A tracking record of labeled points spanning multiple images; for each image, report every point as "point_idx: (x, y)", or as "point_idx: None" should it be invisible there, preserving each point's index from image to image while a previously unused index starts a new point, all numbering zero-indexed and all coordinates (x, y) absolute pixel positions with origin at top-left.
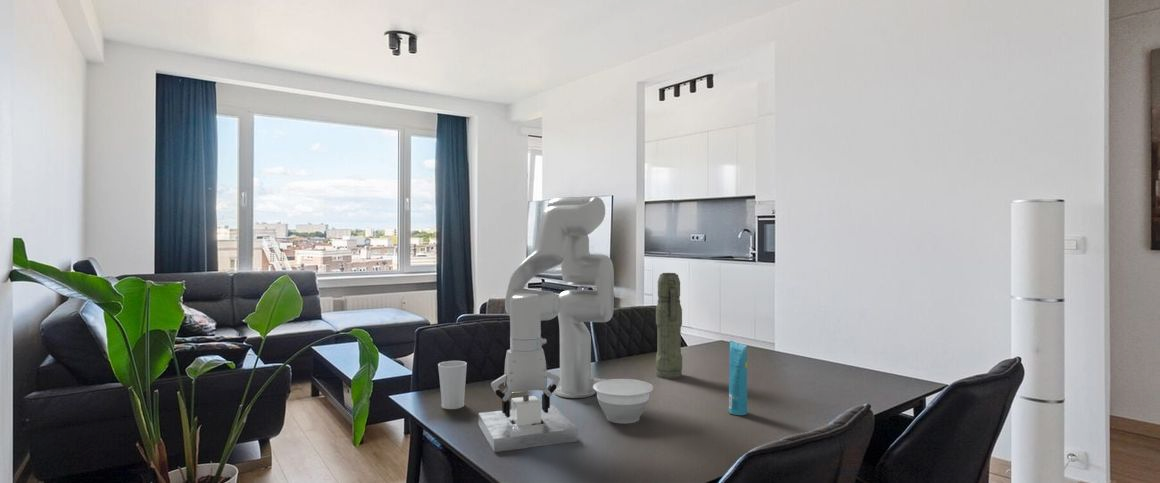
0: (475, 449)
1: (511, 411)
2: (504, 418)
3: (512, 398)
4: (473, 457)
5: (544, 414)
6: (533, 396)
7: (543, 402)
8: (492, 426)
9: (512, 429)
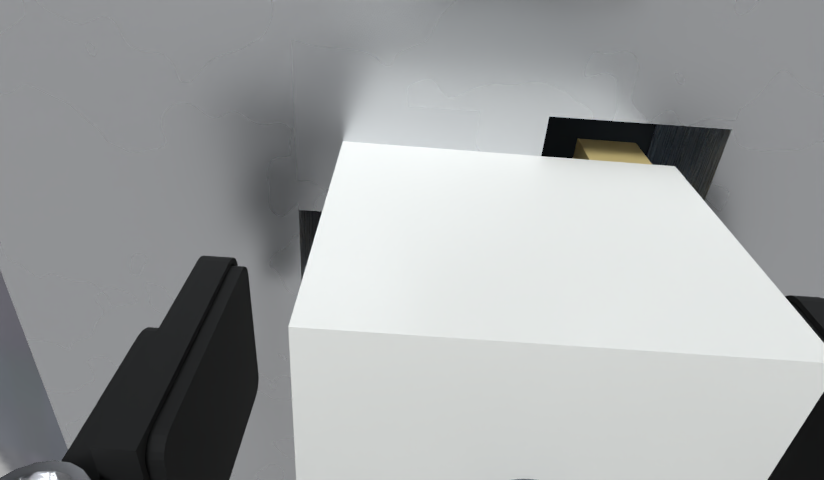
0: (5, 375)
1: (330, 189)
2: (245, 119)
3: (311, 348)
4: (10, 468)
5: (812, 178)
6: (786, 393)
7: (809, 460)
8: (80, 318)
9: (275, 442)
